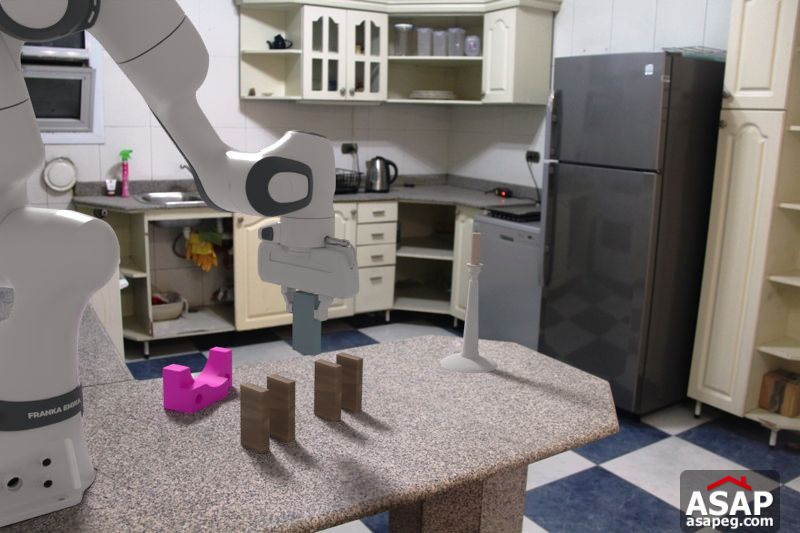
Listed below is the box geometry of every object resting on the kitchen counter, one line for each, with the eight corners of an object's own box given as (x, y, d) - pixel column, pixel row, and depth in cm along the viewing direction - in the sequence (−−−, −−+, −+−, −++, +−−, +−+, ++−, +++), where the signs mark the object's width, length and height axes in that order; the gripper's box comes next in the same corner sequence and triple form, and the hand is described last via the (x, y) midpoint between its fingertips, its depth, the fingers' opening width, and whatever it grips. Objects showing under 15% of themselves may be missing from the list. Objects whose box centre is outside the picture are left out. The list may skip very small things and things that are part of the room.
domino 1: (261, 453, 112) (261, 392, 110) (240, 444, 115) (240, 384, 113) (269, 450, 114) (269, 389, 112) (248, 441, 117) (248, 382, 115)
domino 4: (334, 422, 125) (335, 367, 123) (313, 415, 128) (314, 361, 126) (340, 420, 126) (342, 365, 125) (320, 412, 129) (321, 359, 128)
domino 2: (287, 442, 117) (288, 383, 115) (266, 433, 120) (266, 376, 118) (295, 439, 118) (295, 380, 116) (274, 431, 121) (274, 373, 119)
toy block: (191, 414, 127) (190, 373, 126) (163, 408, 129) (162, 368, 128) (242, 388, 141) (242, 351, 139) (216, 383, 143) (216, 346, 142)
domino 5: (355, 413, 129) (357, 360, 128) (335, 406, 132) (336, 354, 131) (361, 411, 131) (363, 358, 129) (341, 404, 134) (342, 352, 132)
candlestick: (494, 380, 150) (503, 236, 145) (434, 372, 153) (440, 232, 148) (502, 362, 162) (510, 229, 157) (446, 355, 166) (452, 225, 160)
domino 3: (299, 347, 123) (299, 290, 121) (320, 353, 120) (321, 295, 118) (292, 349, 122) (292, 291, 120) (313, 356, 119) (314, 296, 117)
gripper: (369, 239, 113) (366, 324, 116) (279, 225, 125) (279, 302, 128) (341, 243, 108) (340, 332, 111) (250, 228, 120) (251, 308, 123)
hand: (306, 316), depth 120 cm, fingers closed on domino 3, 5 cm apart
